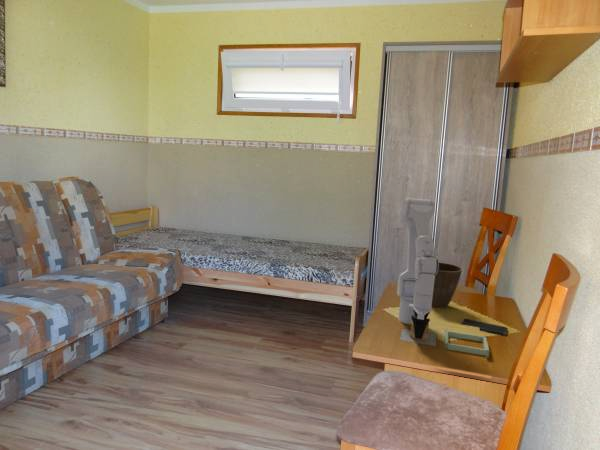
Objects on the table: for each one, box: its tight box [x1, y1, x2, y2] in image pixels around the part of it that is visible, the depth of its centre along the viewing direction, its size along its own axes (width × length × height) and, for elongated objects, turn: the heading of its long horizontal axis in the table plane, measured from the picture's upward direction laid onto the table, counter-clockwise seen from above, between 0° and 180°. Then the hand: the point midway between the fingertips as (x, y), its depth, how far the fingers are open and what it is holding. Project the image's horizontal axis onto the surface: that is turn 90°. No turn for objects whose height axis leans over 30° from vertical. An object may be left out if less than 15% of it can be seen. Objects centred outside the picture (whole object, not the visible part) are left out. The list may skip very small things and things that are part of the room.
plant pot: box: [431, 262, 463, 309], centre depth 197 cm, size 15×15×16 cm
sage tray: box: [444, 329, 490, 359], centre depth 155 cm, size 13×13×2 cm
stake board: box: [399, 328, 437, 347], centre depth 158 cm, size 11×11×5 cm
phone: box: [460, 318, 509, 336], centre depth 175 cm, size 8×1×15 cm
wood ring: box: [410, 321, 430, 341], centre depth 158 cm, size 5×5×5 cm
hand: (418, 334), depth 159 cm, fingers open, 7 cm apart
